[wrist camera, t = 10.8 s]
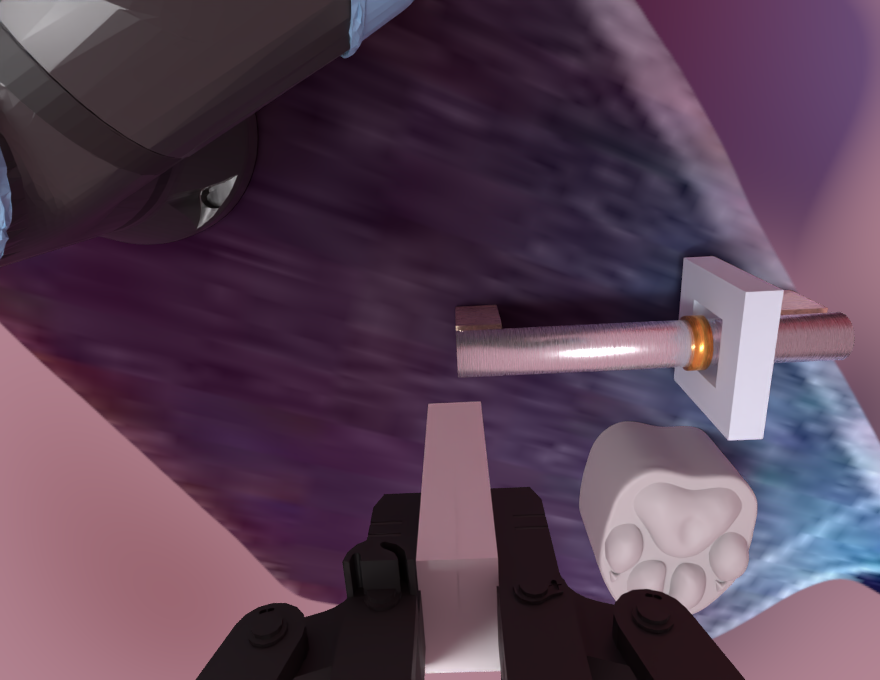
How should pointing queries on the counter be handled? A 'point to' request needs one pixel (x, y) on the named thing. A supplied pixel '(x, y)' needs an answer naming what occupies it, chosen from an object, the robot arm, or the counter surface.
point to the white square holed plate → (732, 344)
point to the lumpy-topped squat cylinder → (666, 512)
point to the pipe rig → (636, 342)
